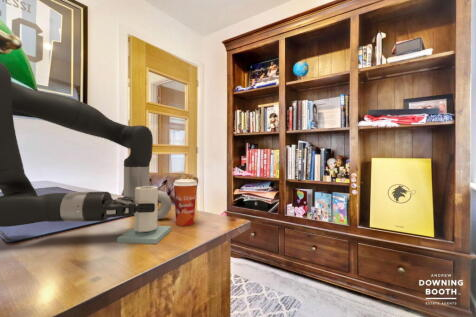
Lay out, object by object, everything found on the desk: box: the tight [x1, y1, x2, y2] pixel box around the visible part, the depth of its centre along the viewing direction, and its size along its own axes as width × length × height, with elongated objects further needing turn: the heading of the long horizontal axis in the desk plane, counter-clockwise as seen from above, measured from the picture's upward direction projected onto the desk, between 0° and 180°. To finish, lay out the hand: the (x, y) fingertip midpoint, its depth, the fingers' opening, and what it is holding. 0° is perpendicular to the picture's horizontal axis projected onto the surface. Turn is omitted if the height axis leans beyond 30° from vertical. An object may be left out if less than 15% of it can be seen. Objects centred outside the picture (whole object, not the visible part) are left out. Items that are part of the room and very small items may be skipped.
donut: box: [157, 190, 172, 221], centre depth 75 cm, size 10×3×10 cm, turn 97°
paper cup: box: [173, 178, 199, 227], centre depth 71 cm, size 8×8×14 cm
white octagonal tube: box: [133, 185, 159, 232], centre depth 60 cm, size 5×5×11 cm
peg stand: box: [116, 225, 172, 245], centre depth 60 cm, size 10×10×8 cm
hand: (156, 205), depth 60 cm, fingers closed on white octagonal tube, 5 cm apart
